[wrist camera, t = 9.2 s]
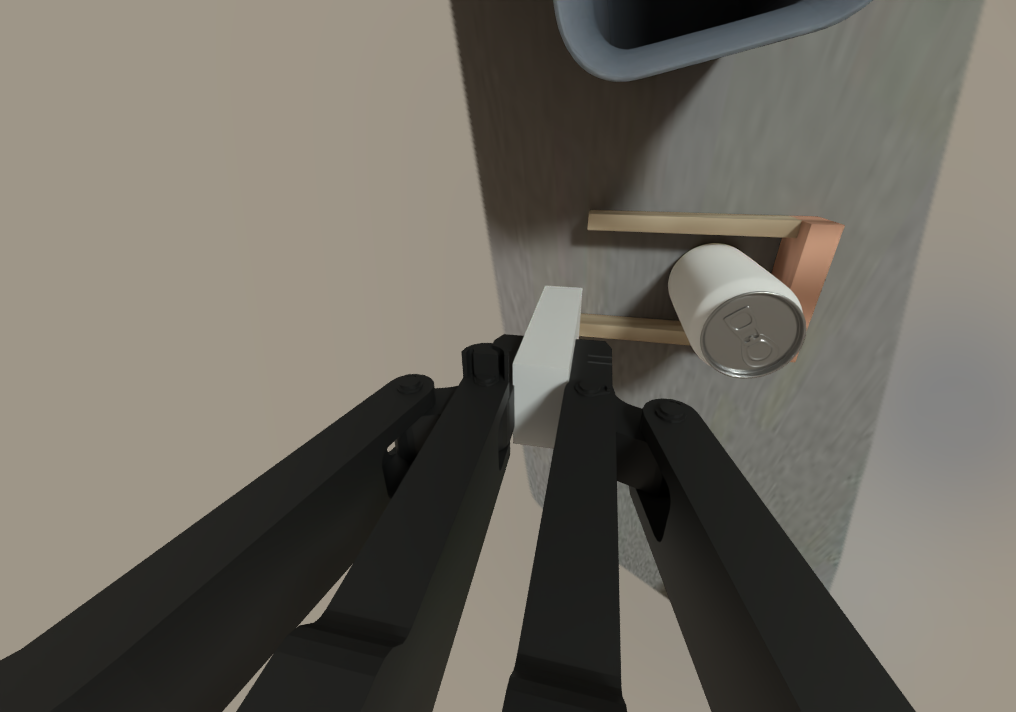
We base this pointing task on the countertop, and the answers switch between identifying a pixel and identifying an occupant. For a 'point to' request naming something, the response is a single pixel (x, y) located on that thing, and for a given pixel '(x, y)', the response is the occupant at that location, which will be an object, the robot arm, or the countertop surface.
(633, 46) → the storage bin
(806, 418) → the countertop surface
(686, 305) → the can
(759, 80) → the countertop surface
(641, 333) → the guide lane
